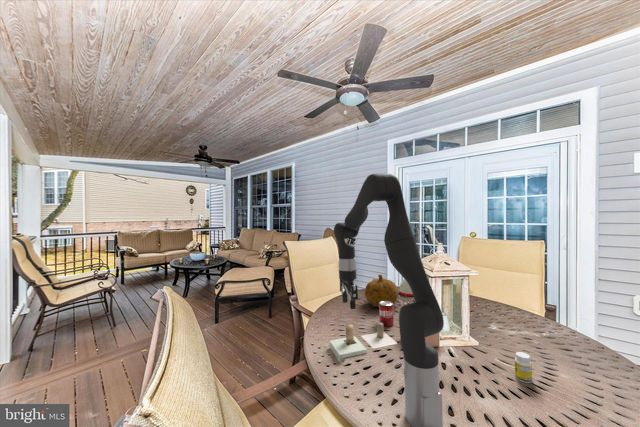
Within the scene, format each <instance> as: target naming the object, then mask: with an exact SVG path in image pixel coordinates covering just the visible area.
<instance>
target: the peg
mask: <svg viewBox="0 0 640 427" xmlns="http://www.w3.org/2000/svg"><path fill="white" fill-rule="evenodd" d="M353 336H354V325H353V324H349V323H348V324H346V325H345V338H346V344H347V345H351V344H354V337H353Z"/></svg>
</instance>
